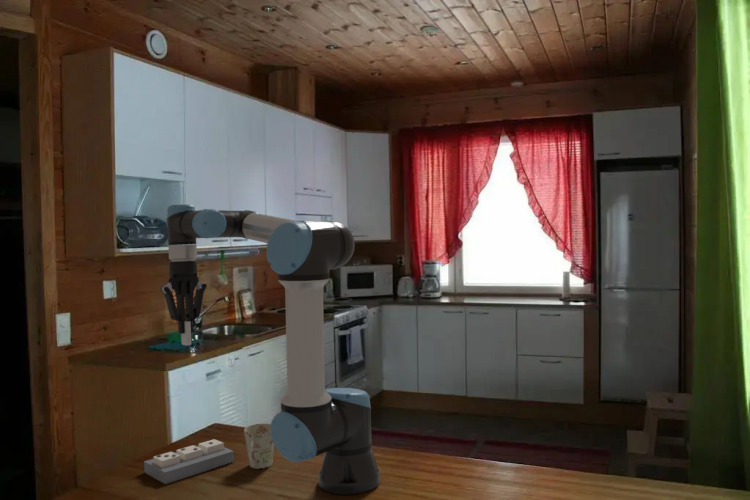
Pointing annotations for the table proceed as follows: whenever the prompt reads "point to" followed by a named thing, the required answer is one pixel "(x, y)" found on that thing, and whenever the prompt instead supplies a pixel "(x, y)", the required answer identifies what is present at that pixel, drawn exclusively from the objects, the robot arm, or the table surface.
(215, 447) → the white block
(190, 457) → the white die
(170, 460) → the white block with dots
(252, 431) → the mug
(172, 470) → the board
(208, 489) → the table surface
